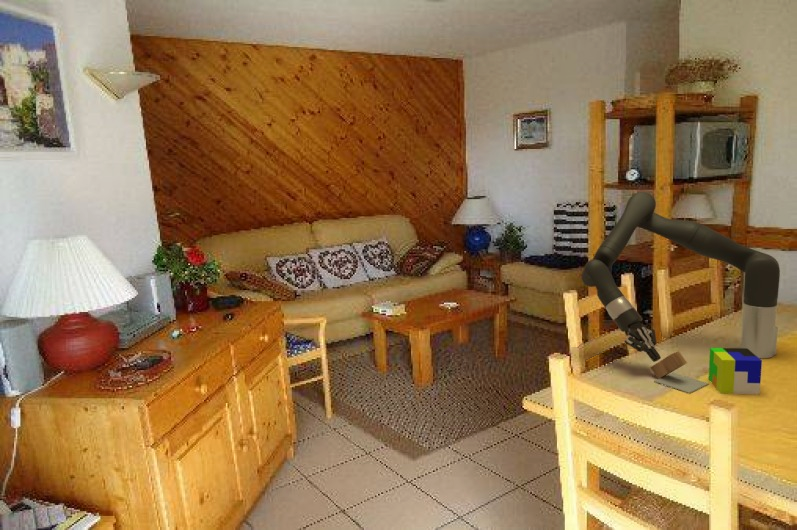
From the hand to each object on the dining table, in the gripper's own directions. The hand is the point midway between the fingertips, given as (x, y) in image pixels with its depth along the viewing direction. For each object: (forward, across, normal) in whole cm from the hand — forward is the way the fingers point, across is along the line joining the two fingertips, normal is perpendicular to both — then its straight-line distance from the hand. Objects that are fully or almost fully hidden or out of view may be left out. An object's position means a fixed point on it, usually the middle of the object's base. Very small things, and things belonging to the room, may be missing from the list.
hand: (657, 360), depth 171 cm
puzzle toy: (+17, -9, +9) cm, 21 cm away
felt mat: (+9, 0, +2) cm, 9 cm away
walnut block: (+3, 0, -3) cm, 4 cm away
